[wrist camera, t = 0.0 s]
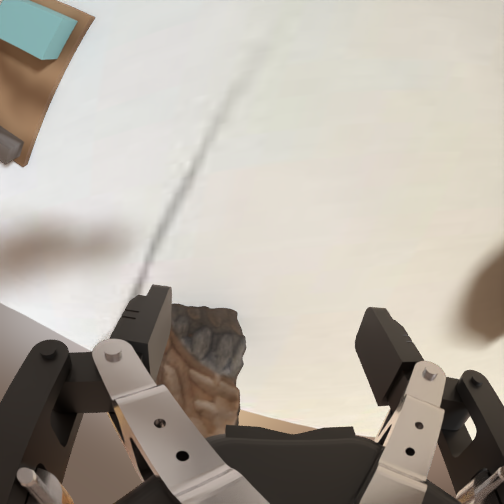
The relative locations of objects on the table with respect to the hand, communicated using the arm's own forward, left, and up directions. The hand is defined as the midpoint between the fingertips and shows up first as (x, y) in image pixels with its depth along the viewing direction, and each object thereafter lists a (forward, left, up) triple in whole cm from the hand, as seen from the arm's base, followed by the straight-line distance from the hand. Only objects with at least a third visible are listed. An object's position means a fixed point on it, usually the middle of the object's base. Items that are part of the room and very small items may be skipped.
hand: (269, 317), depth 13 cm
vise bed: (+6, -29, -22) cm, 37 cm away
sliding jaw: (-1, -29, -21) cm, 36 cm away
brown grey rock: (+24, +7, -23) cm, 33 cm away
